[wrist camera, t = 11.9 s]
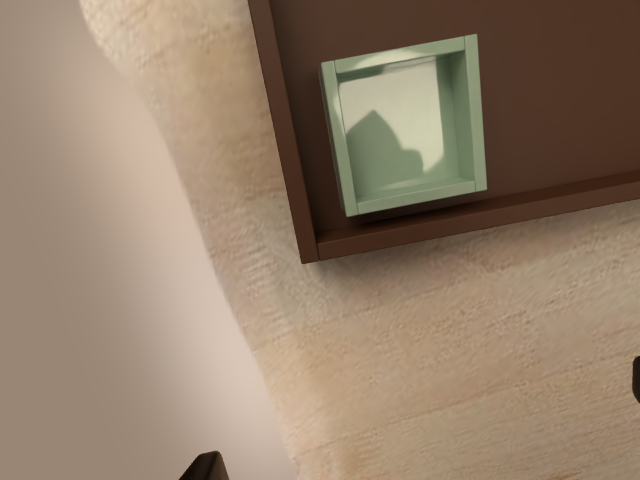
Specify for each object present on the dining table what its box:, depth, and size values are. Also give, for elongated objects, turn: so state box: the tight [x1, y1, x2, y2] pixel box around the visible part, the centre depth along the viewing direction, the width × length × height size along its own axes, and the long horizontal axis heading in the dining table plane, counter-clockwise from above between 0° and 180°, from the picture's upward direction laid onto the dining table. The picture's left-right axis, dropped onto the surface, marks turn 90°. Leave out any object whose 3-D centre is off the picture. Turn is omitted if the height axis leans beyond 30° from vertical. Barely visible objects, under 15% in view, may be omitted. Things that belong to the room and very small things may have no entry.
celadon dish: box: [318, 34, 487, 217], centre depth 16 cm, size 6×6×2 cm
